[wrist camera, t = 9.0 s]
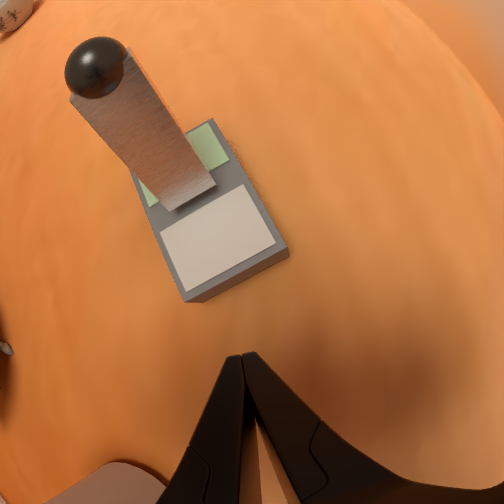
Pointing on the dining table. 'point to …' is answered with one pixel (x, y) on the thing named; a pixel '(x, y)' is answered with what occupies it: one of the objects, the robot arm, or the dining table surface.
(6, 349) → the rhinoceros figurine
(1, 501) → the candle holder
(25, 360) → the dining table surface
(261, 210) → the switch box
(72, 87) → the toggle lever
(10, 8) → the teacup
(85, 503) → the can
